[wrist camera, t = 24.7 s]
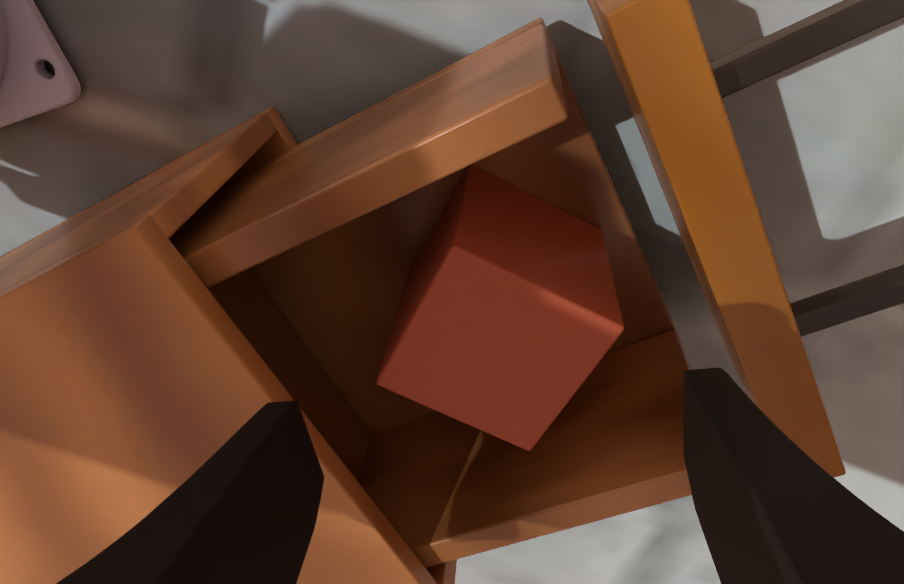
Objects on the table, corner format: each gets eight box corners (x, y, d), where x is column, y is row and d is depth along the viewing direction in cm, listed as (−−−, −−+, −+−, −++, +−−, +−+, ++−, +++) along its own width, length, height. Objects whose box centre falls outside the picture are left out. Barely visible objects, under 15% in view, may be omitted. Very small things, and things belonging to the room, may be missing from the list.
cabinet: (273, 104, 19) (133, 226, 12) (471, 414, 24) (451, 623, 17) (-59, 289, 23) (-302, 455, 16) (167, 519, 28) (54, 719, 22)
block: (405, 280, 19) (374, 385, 15) (468, 161, 17) (452, 245, 13) (528, 337, 20) (530, 453, 16) (602, 229, 18) (626, 328, 14)
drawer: (886, -196, 14) (1125, -251, 8) (967, 243, 18) (1156, 393, 13) (181, 183, 20) (49, 297, 14) (376, 447, 24) (334, 610, 19)
